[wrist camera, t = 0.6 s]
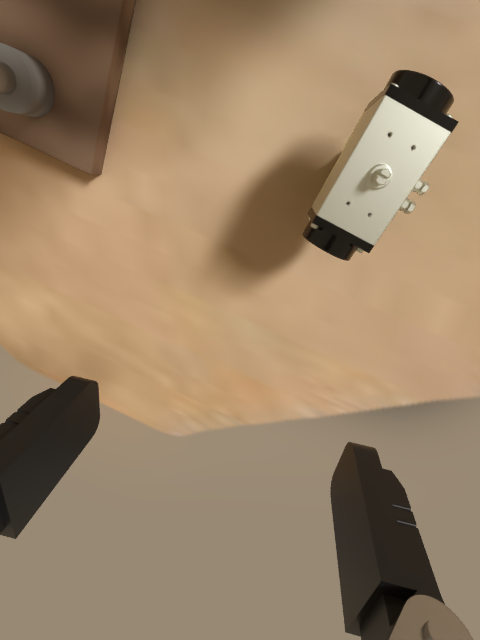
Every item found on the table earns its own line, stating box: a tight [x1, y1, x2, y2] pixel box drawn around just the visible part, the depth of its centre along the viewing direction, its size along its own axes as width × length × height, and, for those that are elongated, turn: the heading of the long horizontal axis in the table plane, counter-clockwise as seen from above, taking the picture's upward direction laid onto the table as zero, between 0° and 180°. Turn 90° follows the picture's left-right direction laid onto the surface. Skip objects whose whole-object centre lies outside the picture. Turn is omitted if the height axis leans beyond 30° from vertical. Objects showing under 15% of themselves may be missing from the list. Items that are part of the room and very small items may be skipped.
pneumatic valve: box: [303, 70, 458, 261], centre depth 25 cm, size 6×12×12 cm, turn 154°
